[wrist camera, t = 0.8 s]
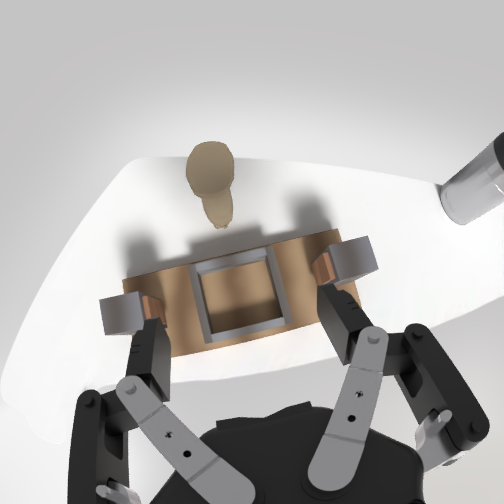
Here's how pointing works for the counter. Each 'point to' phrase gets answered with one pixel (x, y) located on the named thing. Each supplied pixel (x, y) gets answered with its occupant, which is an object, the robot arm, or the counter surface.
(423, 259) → the counter surface
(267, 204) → the counter surface
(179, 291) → the brown and grey holder
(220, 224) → the handle
